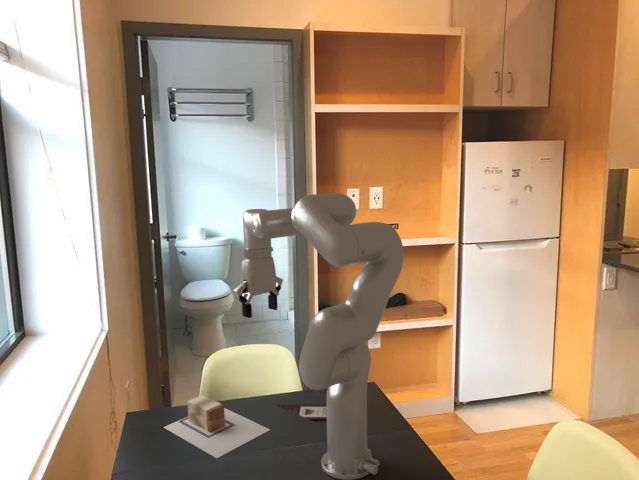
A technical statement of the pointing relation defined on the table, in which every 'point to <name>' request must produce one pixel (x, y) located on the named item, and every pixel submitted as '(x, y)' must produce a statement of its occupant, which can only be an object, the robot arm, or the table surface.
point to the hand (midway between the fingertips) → (260, 313)
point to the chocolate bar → (308, 411)
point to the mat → (218, 433)
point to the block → (206, 413)
